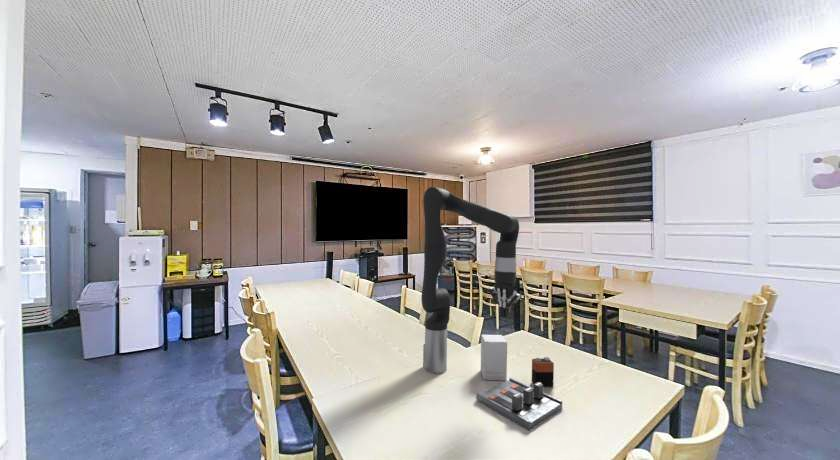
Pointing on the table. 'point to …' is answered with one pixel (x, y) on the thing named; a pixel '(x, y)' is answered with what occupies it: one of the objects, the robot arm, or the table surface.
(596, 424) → the table surface
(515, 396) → the breaker
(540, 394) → the breaker
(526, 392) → the breaker
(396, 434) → the table surface
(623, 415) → the table surface
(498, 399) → the panel
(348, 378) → the table surface
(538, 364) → the battery
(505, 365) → the supplement box
